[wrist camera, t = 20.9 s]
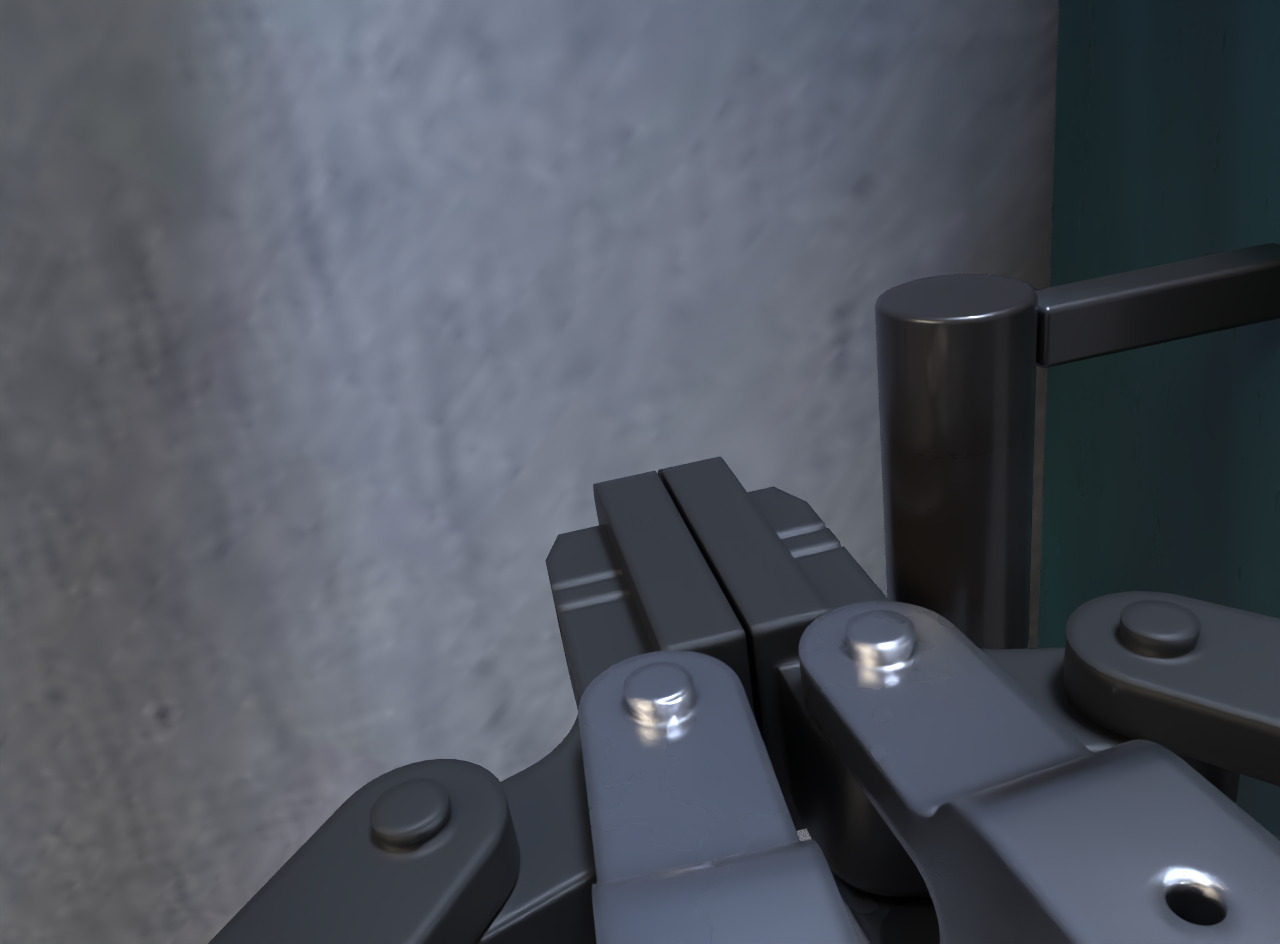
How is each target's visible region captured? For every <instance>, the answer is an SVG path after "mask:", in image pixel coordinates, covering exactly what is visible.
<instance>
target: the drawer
mask: <svg viewBox="0 0 1280 944" xmlns="http://www.w3.org/2000/svg"><path fill="white" fill-rule="evenodd" d="M875 317H876V341H877V364H878V388H879V411H880V435H881V459H882V482H883V506H884V529H885V553H886V576H887V599H888V600H889V601H893V602H902V603H908V604H912V605H916V606H920V607H923V608H926V609H928V610H931V611H933V612H935V613H937V614H939V615H941V616H943V617H944V618H946V619H947V620H948V621H950V622H951V623H952V624H953V625H955V626H956V627H957V628H958V629H959V630H960V631H961V632H962V633H963V634H964V635H965V636H966V637H967V638H969V639H970V640H971V641H972V642H973V643H974V644H975V645H976V646H977V647H978V648H984V649H1027V648H1028V640H1029V604H1030V567H1031V531H1032V495H1033V459H1034V423H1035V386H1036V365H1037V366H1039V367H1043V368H1047V381H1046V412H1045V443H1044V474H1043V504H1042V535H1041V566H1040V597H1039V628H1038V648H1061V647H1065V634H1066V625H1067V621H1068V619H1069V617H1070V615H1071V614H1072V613H1073V612H1074V611H1075V610H1076V609H1077V608H1078V607H1079V606H1081V605H1082V604H1084V603H1085V602H1087V601H1090V600H1092V599H1094V598H1097V597H1100V596H1104V595H1107V594H1112V593H1118V592H1129V591H1153V592H1162V593H1170V594H1175V595H1180V596H1185V597H1189V598H1194V599H1198V600H1202V601H1206V602H1211V603H1215V604H1219V605H1223V606H1228V607H1232V608H1236V609H1241V610H1245V611H1249V612H1253V613H1258V614H1262V615H1266V616H1271V617H1275V618H1279V619H1280V0H1059V11H1058V42H1057V72H1056V103H1055V134H1054V165H1053V196H1052V227H1051V258H1050V287H1049V288H1044V289H1039V290H1035V289H1034V288H1033V287H1032V286H1031V285H1029V284H1028V283H1026V282H1023V281H1020V280H1017V279H1013V278H1009V277H1004V276H997V275H987V274H954V275H942V276H934V277H928V278H923V279H918V280H914V281H910V282H907V283H904V284H901V285H898V286H895V287H893V288H891V289H889V290H887V291H885V292H884V293H882V294H881V295H880V296H879V298H878V299H877V302H876V305H875ZM1236 804H1237V805H1238V806H1239V807H1240V808H1241V809H1242V810H1244V811H1245V812H1246V813H1247V814H1248V815H1250V816H1251V817H1252V818H1253V819H1254V820H1256V821H1257V822H1258V823H1259V824H1260V825H1262V826H1263V827H1264V828H1265V829H1266V830H1268V831H1269V832H1270V833H1271V834H1272V835H1275V836H1277V837H1280V787H1279V786H1276V785H1273V784H1270V783H1266V782H1263V781H1260V780H1257V779H1254V778H1251V777H1248V776H1245V775H1242V774H1240V778H1239V785H1238V792H1237V799H1236Z"/></svg>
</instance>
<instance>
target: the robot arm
mask: <svg viewBox="0 0 1280 944" xmlns="http://www.w3.org/2000/svg"><path fill="white" fill-rule="evenodd" d="M593 489H594V498H595V504H596V510H597V516H598V521H599V526H595V527H591V528H586V529H582V530H577V531H573V532H568V533H564V534H559V535H558V537H557V539H556V541H555V543H554V545H553V547H552V549H551V551H550V553H549V555H548V557H547V559H546V565H547V570H548V575H549V580H550V584H551V589H552V594H553V599H554V604H555V608H556V613H557V618H558V623H559V628H560V632H561V637H562V642H563V647H564V652H565V657H566V661H567V666H568V671H569V675H570V679H571V683H572V688H573V692H574V696H575V700H576V704H577V708H578V715H577V718H576V721H575V724H574V725H573V727H572V729H571V730H570V732H569V734H568V735H567V736H566V737H565V739H564V740H563V741H562V742H561V743H560V744H559V745H558V746H557V747H556V748H555V749H554V750H553V751H552V752H551V753H550V754H548V755H547V756H545V757H544V758H543V759H541V760H540V761H539V762H537V763H535V764H534V765H532V766H530V767H528V768H527V769H525V770H523V771H521V772H519V773H517V774H515V775H513V776H511V777H509V778H507V779H506V780H504V781H502V782H500V781H499V780H498V778H496V777H495V776H494V775H493V774H492V773H491V772H490V771H488V770H487V769H485V768H483V767H481V766H480V765H477V764H474V763H471V762H468V761H462V760H456V759H436V760H426V761H421V762H417V763H412V764H409V765H406V766H403V767H400V768H397V769H394V770H392V771H390V772H388V773H385V774H383V775H381V776H379V777H378V778H376V779H374V780H372V781H371V782H369V783H367V784H366V785H365V786H363V787H362V788H360V789H359V790H358V791H356V792H355V793H354V794H353V795H352V796H351V797H350V798H349V799H347V800H346V801H345V802H344V803H343V804H342V805H341V806H340V807H339V808H338V809H337V810H336V811H335V813H334V814H333V815H332V816H331V817H330V818H329V819H328V820H327V821H326V822H325V823H324V824H323V825H322V826H321V827H320V828H319V829H318V830H317V831H316V832H315V833H314V834H313V835H312V836H311V837H310V838H309V839H308V840H307V842H306V843H305V844H304V845H303V846H302V847H301V848H300V849H299V850H298V851H297V852H296V853H295V854H294V855H293V856H292V857H291V858H290V859H289V860H288V861H287V862H286V863H285V864H284V865H283V866H282V867H281V868H280V870H279V871H278V872H277V873H276V874H275V875H274V876H273V877H272V878H271V879H270V880H269V881H268V882H267V883H266V884H265V885H264V886H263V887H262V888H261V889H260V890H259V891H258V892H257V893H256V894H255V895H254V896H253V897H252V899H251V900H250V901H249V902H248V903H247V904H246V905H245V906H244V907H243V908H242V909H241V910H240V911H239V912H238V913H237V914H236V915H235V916H234V917H233V918H232V919H231V920H230V921H229V922H228V923H227V924H226V925H225V927H224V928H223V929H222V930H221V931H220V932H219V933H218V934H217V935H216V936H215V937H214V938H213V939H212V940H211V941H210V942H209V943H208V944H1280V837H1277V836H1275V835H1272V834H1271V833H1270V832H1269V831H1268V830H1266V829H1265V828H1264V827H1263V826H1262V825H1260V824H1259V823H1258V822H1257V821H1256V820H1254V819H1253V818H1252V817H1251V816H1250V815H1248V814H1247V813H1246V812H1245V811H1244V810H1242V809H1241V808H1240V807H1239V806H1238V805H1237V804H1236V799H1237V792H1238V785H1239V778H1240V774H1242V775H1245V776H1248V777H1251V778H1254V779H1257V780H1260V781H1263V782H1266V783H1270V784H1273V785H1276V786H1279V787H1280V619H1279V618H1275V617H1271V616H1266V615H1262V614H1258V613H1253V612H1249V611H1245V610H1241V609H1236V608H1232V607H1228V606H1223V605H1219V604H1215V603H1211V602H1206V601H1202V600H1198V599H1194V598H1189V597H1185V596H1180V595H1175V594H1170V593H1162V592H1153V591H1129V592H1118V593H1112V594H1107V595H1104V596H1100V597H1097V598H1094V599H1092V600H1090V601H1087V602H1085V603H1084V604H1082V605H1081V606H1079V607H1078V608H1077V609H1076V610H1075V611H1074V612H1073V613H1072V614H1071V615H1070V617H1069V619H1068V621H1067V625H1066V634H1065V647H1061V648H1027V649H984V648H978V647H977V646H976V645H975V644H974V643H973V642H972V641H971V640H970V639H969V638H967V637H966V636H965V635H964V634H963V633H962V632H961V631H960V630H959V629H958V628H957V627H956V626H955V625H953V624H952V623H951V622H950V621H948V620H947V619H946V618H944V617H943V616H941V615H939V614H937V613H935V612H933V611H931V610H928V609H926V608H923V607H920V606H916V605H912V604H908V603H902V602H893V601H889V600H888V599H887V598H886V596H885V595H884V594H883V593H882V592H881V590H880V589H879V588H878V587H877V586H876V584H875V583H874V582H873V581H872V580H871V578H870V577H869V576H868V575H867V574H866V572H865V571H864V570H863V569H862V568H861V566H860V565H859V564H858V563H857V562H856V560H855V559H854V558H853V557H852V556H851V555H850V553H849V552H848V551H847V550H846V549H845V547H841V545H840V541H839V540H838V539H837V538H836V537H835V535H834V534H833V533H832V532H831V531H830V529H829V528H827V529H826V527H825V523H824V522H823V521H822V520H821V519H820V517H819V516H818V515H817V514H816V513H815V511H814V510H813V509H812V508H811V507H810V505H809V504H808V503H807V502H806V501H804V500H801V499H799V498H797V497H795V496H793V495H790V494H788V493H786V492H784V491H782V490H779V489H777V488H775V487H770V488H766V489H761V490H757V491H752V492H748V493H747V492H746V490H745V489H744V487H743V486H742V485H741V483H740V482H739V481H738V479H737V478H736V476H735V475H734V474H733V472H732V471H731V469H730V468H729V467H728V465H727V464H726V463H725V461H724V460H723V459H722V458H721V457H716V458H711V459H706V460H702V461H697V462H693V463H688V464H683V465H679V466H674V467H669V468H665V469H660V470H659V471H658V474H657V472H656V471H652V472H647V473H643V474H638V475H633V476H629V477H624V478H620V479H615V480H610V481H606V482H601V483H596V484H594V485H593ZM805 828H807V830H808V832H809V834H810V836H811V838H812V839H810V840H806V841H801V842H800V840H799V837H798V835H797V832H796V831H798V830H801V829H805Z"/></svg>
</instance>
